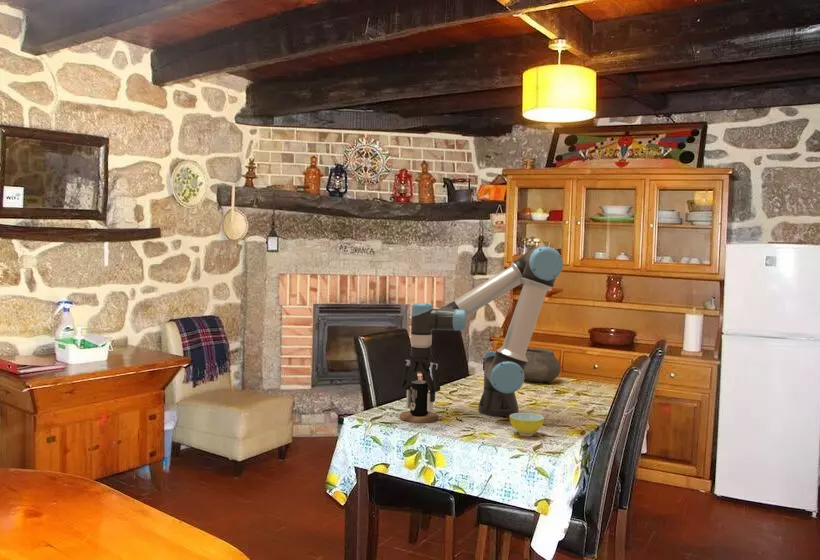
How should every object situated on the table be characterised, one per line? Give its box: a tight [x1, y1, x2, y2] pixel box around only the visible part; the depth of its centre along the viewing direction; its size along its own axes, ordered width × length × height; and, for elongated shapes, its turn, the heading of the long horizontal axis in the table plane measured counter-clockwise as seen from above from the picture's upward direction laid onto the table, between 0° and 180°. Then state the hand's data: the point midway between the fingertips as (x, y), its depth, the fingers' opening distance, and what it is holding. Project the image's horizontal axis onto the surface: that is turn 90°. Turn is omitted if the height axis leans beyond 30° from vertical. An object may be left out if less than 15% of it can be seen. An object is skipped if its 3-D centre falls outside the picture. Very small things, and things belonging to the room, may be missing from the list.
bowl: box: [509, 412, 545, 437], centre depth 234 cm, size 11×12×6 cm
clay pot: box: [524, 348, 562, 383], centre depth 335 cm, size 22×21×15 cm
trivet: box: [399, 410, 440, 424], centre depth 253 cm, size 14×14×1 cm
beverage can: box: [409, 379, 430, 416], centre depth 253 cm, size 7×7×12 cm
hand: (419, 408), depth 253 cm, fingers open, 8 cm apart
